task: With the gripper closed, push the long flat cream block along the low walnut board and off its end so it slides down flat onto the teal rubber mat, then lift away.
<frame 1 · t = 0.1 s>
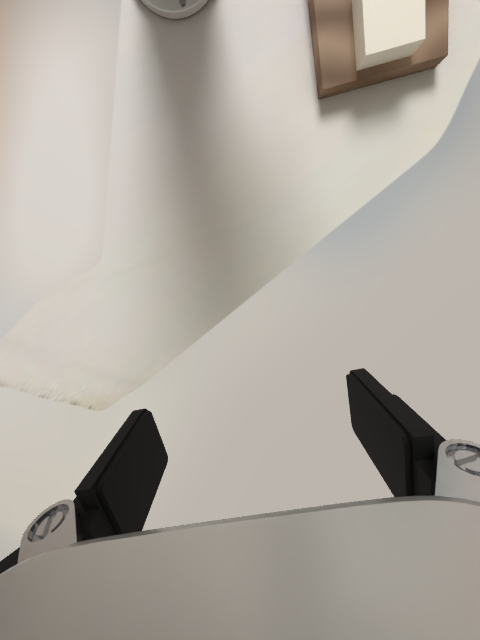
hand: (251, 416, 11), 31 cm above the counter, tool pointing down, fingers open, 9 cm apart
board: (372, 19, 30), on the counter
block: (387, 14, 28), point 3 cm above the counter, touching board
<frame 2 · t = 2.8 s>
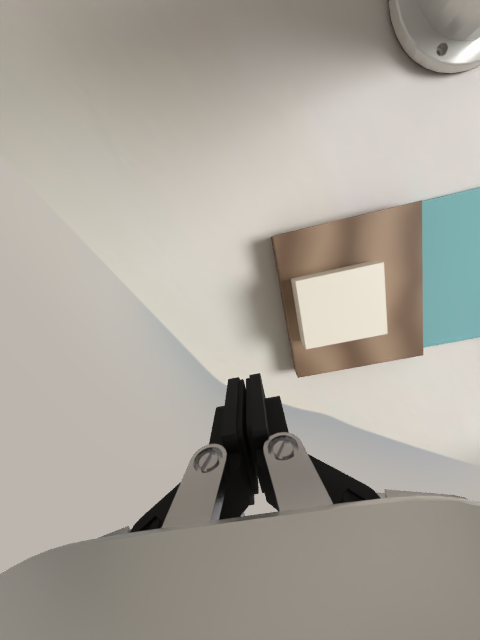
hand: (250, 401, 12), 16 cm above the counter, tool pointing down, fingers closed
board: (345, 295, 26), on the counter
block: (337, 305, 23), point 3 cm above the counter, touching board
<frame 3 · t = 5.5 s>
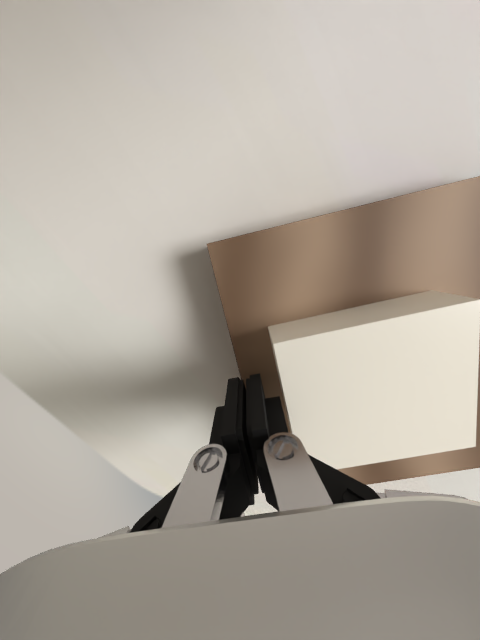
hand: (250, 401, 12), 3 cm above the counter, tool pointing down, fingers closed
board: (356, 352, 14), on the counter
block: (366, 383, 11), point 3 cm above the counter, touching gripper
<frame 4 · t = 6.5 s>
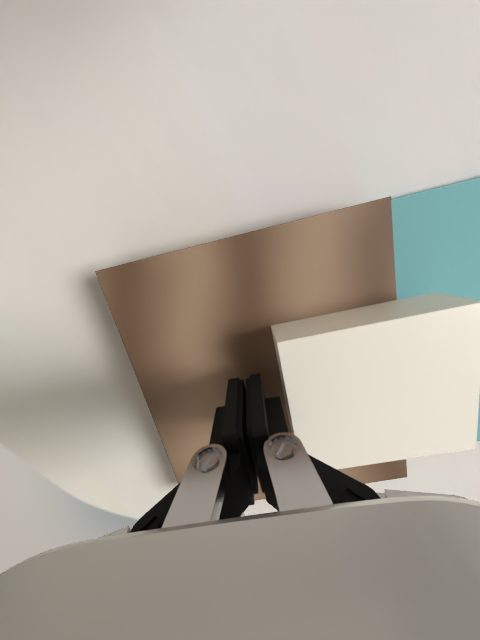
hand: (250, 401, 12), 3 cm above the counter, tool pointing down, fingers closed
board: (266, 368, 15), on the counter
block: (368, 383, 11), point 3 cm above the counter
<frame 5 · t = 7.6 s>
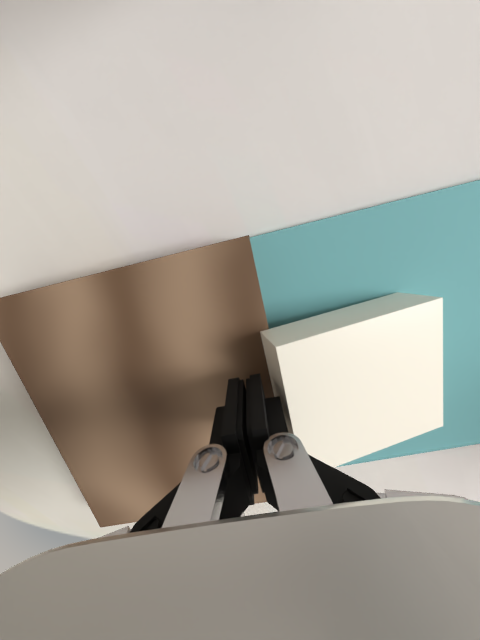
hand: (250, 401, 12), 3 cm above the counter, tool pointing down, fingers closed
board: (170, 390, 15), on the counter
block: (353, 379, 12), point 2 cm above the counter, tilted 12°, touching gripper
mat: (407, 342, 14), on the counter
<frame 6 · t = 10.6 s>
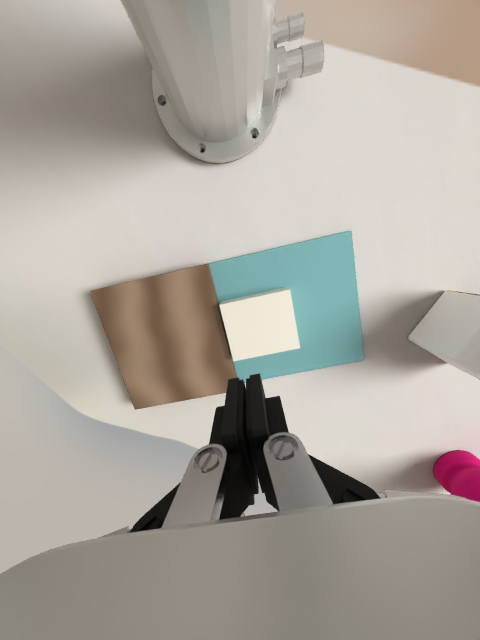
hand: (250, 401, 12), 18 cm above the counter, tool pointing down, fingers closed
board: (172, 337, 30), on the counter
pepper mill: (453, 466, 34), on the counter
block: (259, 324, 27), point 2 cm above the counter, touching mat
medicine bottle: (445, 327, 29), on the counter
mat: (287, 313, 29), on the counter
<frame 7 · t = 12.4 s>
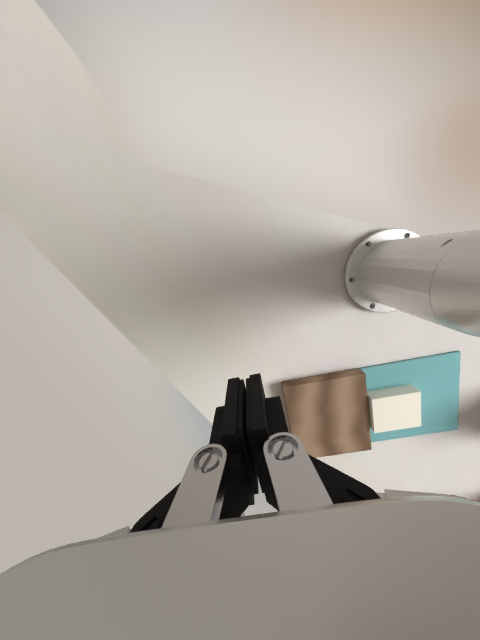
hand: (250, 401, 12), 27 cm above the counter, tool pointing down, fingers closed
board: (325, 412, 43), on the counter
block: (392, 408, 41), point 2 cm above the counter, touching mat
mat: (407, 399, 42), on the counter
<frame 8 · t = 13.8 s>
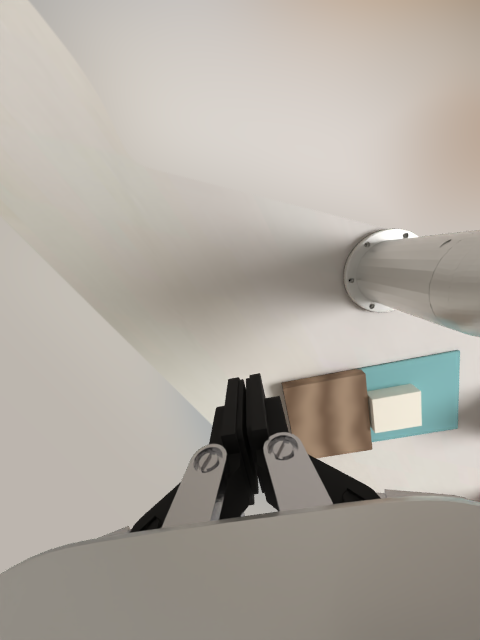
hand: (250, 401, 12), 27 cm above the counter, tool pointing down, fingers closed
board: (325, 412, 43), on the counter
block: (393, 408, 41), point 2 cm above the counter, touching mat
mat: (408, 398, 42), on the counter
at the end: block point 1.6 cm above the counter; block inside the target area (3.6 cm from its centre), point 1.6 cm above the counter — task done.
